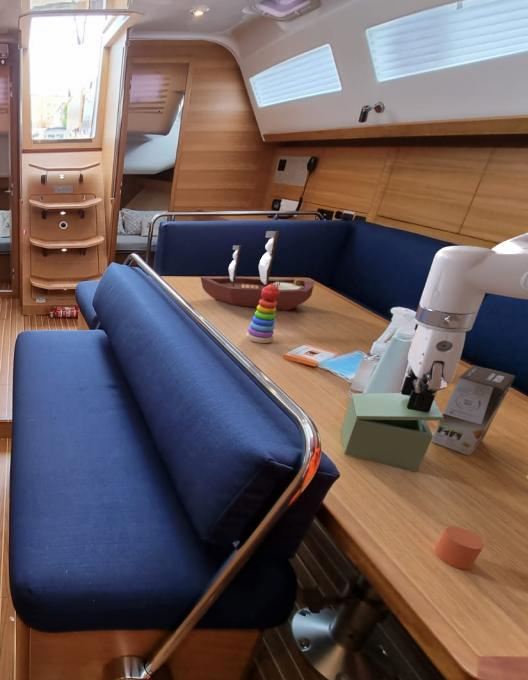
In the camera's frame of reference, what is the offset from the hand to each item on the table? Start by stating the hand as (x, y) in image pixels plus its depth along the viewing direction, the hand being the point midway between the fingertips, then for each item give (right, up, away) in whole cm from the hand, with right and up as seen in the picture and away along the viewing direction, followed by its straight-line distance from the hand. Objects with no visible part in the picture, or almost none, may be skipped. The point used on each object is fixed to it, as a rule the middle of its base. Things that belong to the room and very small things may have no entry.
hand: (414, 401), depth 82 cm
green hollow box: (-2, -11, +7) cm, 13 cm away
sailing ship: (+18, +27, +89) cm, 95 cm away
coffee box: (+17, -10, +8) cm, 21 cm away
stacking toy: (+3, +12, +58) cm, 60 cm away
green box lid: (-2, -2, +2) cm, 3 cm away
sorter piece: (-10, -22, -16) cm, 29 cm away
